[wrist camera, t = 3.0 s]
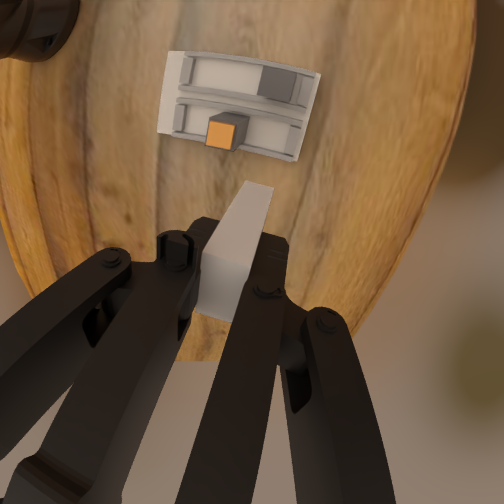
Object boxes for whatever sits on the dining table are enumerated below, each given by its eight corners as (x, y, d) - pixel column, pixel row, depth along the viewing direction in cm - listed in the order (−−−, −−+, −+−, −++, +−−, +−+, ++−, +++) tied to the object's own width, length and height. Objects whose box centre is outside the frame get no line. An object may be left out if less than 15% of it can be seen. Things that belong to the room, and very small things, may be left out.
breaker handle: (220, 135, 30) (202, 147, 25) (224, 111, 28) (207, 117, 23) (244, 140, 30) (232, 153, 25) (249, 116, 28) (238, 123, 23)
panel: (163, 129, 32) (132, 143, 26) (175, 52, 26) (143, 46, 19) (297, 157, 32) (296, 177, 26) (319, 75, 26) (326, 70, 19)
